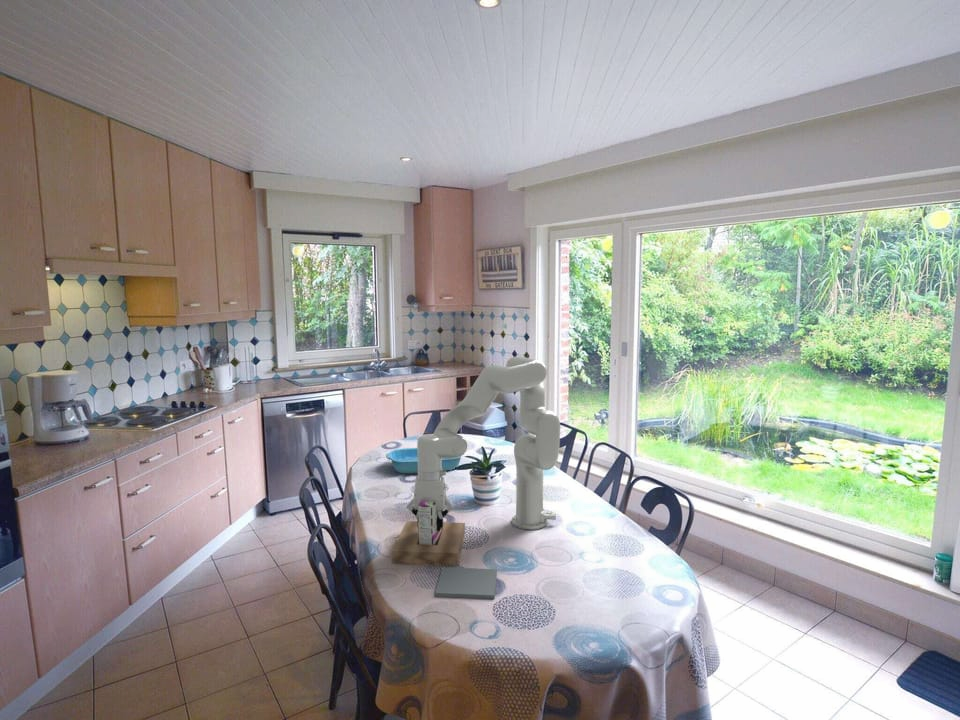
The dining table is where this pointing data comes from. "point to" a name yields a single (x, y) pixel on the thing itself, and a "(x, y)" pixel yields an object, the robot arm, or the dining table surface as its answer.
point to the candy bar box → (428, 524)
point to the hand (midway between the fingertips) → (430, 528)
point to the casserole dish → (415, 460)
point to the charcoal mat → (467, 583)
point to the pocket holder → (429, 546)
